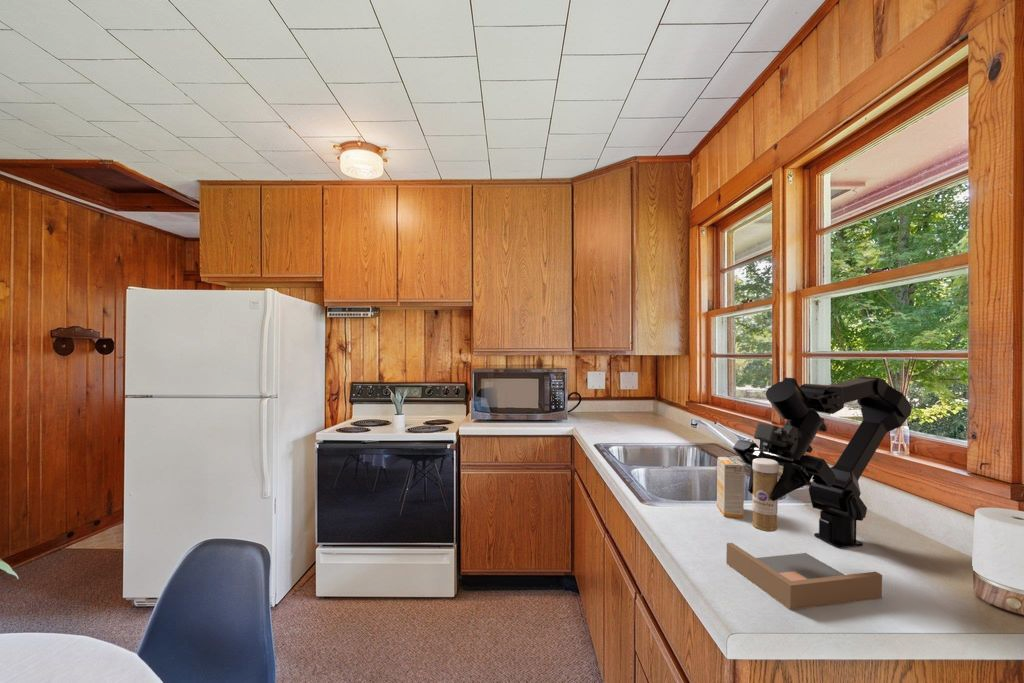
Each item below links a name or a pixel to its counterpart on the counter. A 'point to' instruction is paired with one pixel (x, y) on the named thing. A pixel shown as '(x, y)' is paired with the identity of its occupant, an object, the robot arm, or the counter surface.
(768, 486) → the sprinkles bottle
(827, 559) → the counter surface
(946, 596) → the counter surface
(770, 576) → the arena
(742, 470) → the supplement box
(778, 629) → the counter surface
